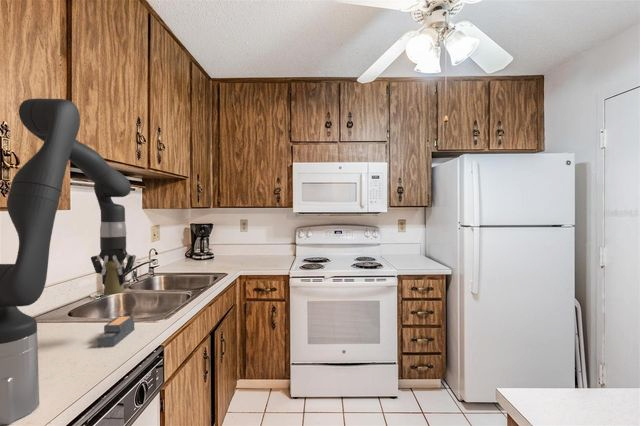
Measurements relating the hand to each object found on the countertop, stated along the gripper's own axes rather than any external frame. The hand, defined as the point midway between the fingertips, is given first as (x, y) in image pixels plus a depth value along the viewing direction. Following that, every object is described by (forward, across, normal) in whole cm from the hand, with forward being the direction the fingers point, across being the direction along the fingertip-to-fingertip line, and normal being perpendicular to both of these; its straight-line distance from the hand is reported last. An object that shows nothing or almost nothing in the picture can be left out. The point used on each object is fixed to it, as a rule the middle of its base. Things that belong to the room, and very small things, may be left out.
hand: (113, 285), depth 112 cm
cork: (+2, 0, 0) cm, 2 cm away
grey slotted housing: (+19, 0, +1) cm, 19 cm away
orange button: (+15, 0, +3) cm, 15 cm away
